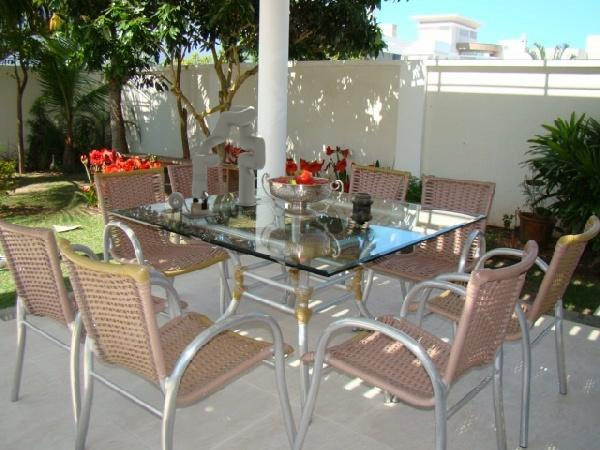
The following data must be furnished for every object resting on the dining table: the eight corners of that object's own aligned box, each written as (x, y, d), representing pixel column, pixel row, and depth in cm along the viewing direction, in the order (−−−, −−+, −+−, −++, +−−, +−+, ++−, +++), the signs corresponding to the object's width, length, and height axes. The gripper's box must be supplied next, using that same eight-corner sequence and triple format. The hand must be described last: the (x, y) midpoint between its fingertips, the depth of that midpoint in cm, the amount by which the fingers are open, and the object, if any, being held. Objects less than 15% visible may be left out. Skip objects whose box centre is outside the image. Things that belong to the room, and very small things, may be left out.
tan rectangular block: (190, 213, 306) (190, 203, 305) (205, 212, 312) (205, 201, 310) (194, 215, 303) (194, 204, 302) (209, 213, 308) (209, 203, 307)
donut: (185, 209, 319) (185, 192, 316) (182, 210, 316) (181, 193, 313) (170, 207, 322) (170, 190, 320) (167, 208, 319) (167, 191, 317)
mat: (206, 210, 318) (206, 209, 318) (219, 215, 307) (219, 214, 307) (181, 213, 308) (181, 212, 308) (192, 219, 297) (192, 217, 297)
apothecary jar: (374, 225, 299) (376, 192, 295) (369, 230, 288) (371, 196, 284) (352, 223, 303) (354, 190, 299) (346, 227, 292) (348, 194, 288)
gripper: (186, 175, 307) (186, 205, 311) (201, 180, 294) (201, 211, 298) (198, 174, 311) (198, 204, 315) (213, 179, 298) (213, 210, 302)
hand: (200, 208), depth 307 cm, fingers open, 9 cm apart
